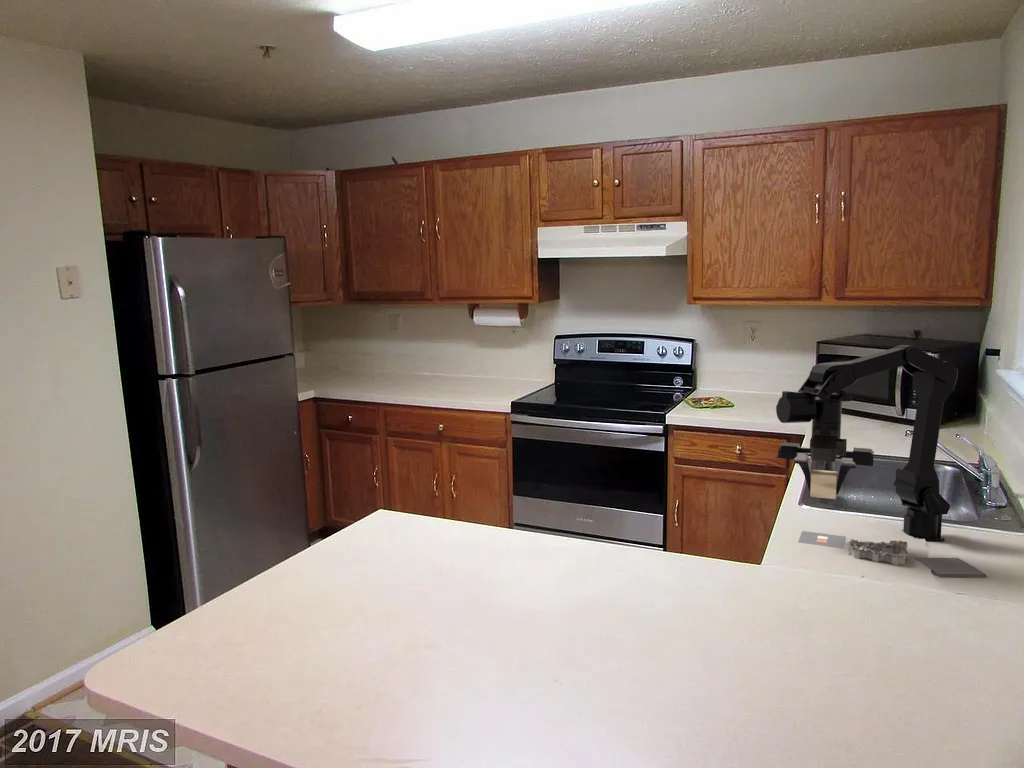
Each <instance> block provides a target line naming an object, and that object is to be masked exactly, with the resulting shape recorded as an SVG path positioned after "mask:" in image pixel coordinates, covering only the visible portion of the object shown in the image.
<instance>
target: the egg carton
mask: <svg viewBox="0 0 1024 768" xmlns="http://www.w3.org/2000/svg"><path fill="white" fill-rule="evenodd" d="M847 545H849V546H848V552H847V553H848V554H847V555H848V556H852V557H853V558H854V559H863V558H865V559H869V560H871V561H873V562H888V563H890V564H891V565H894V566H896V565H897V566H898V565H905V564H906V560H907V557H908V556H909V553H908V550H907V548H908V542H907V541H902V540H895V539H894V540H890V541H889V542H885V541H880V542H874V541H859V540H856V539H852V538H851V539H850V540H849V541H848V543H847Z"/></svg>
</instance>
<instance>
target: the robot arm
mask: <svg viewBox="0 0 1024 768" xmlns="http://www.w3.org/2000/svg"><path fill="white" fill-rule="evenodd" d="M899 367H901V368H902V369H903V370H904V371H905V372H906V373H908V374H909V375H911V376H912V388H913V390H914V392H915V396H916V397H917V404H916V410H915V418H914V424H913V430H912V437H911V443H910V450H909V456H908V457H909V459H908V462H907V463H906V464H905V466H904V467H903V468H902V469H901V468H900V467H897V468H896V471H895V480H894V482H893V484H892V485H893V487H895V493H896V495H897V496H898V497H899V500H900V503H901V505H902V506H904V507H906V513H905V514H904V515H903V529H901V531H902V532H903V533H904V534H906V535H908V536H910V537H912V538H914V539H917V540H925V541H946V538H945V537H943V536H942V524H943V521H942V520H943V515H948V513H949V511H950V508H951V504H950V503H949V502H948V501H947V500H946V499H945V498H944V497H943V496H942V495H941V494H940V479H939V476H938V473H937V471H936V468H935V462H936V457H937V455H936V454H937V448H938V442H939V437H940V436H939V435H940V429H941V422H942V415H943V410H944V403H946V400H947V399H948V398H949V397H950V395H951V394H952V393H953V392H954V390H955V386H956V383H957V380H958V376H959V374H958V373H959V372H958V368H957V367H956V366H955V365H954V364H953V363H952V362H950V361H945V360H941V359H940V358H937V357H936V356H933V355H931V354H929V353H927V352H924V351H923V350H921V349H920V348H918V347H916V346H914V345H905V344H904V345H903V344H901V345H900V344H899V345H896V346H894V347H892V348H889V349H885V350H882V351H879V352H875V353H871V354H868V355H864V356H861V357H859V358H855V359H851V360H847V361H830V362H822V363H817V364H815V365H814V366H812V367H811V370H810V371H809V375H808V377H807V378H806V379H805V381H804V383H802V385H801V386H800V387H799V389H798V390H797V391H789V390H783V391H782V392H781V397H779V399H778V401H777V404H776V406H775V408H776V409H775V412H776V413H775V414H776V416H777V419H778V421H779V422H781V423H782V424H793V423H794V424H795V423H796V424H797V423H799V424H800V423H810V422H811V437H810V439H809V447H800V446H801V445H800V443H799V442H798V443H797V442H786V441H785V442H782V443H781V444H780V445H779V446H778V450H777V458H778V459H783V460H784V459H785V460H793V463H794V464H797V465H799V467H800V469H801V471H802V473H803V475H804V479H805V482H806V485H807V488H808V491H809V492H810V490H811V473H812V467H811V466H812V463H811V460H812V461H813V462H819V461H823V462H827V463H833V462H836V461H837V460H841V463H840V467H839V473H838V478H837V487H836V494H837V495H839V494H840V490H841V488H842V485H843V482H844V481H845V478H846V477H847V475H848V473H849V472H850V470H851V469H856V468H857V466H867V467H873V466H874V456H875V455H874V454H875V452H874V450H873V449H872V448H865V447H853V450H851V451H850V450H847V445H848V444H847V441H848V440H847V438H841V436H842V435H841V433H842V431H841V430H842V429H841V428H842V407H843V406H842V405H843V402H852V401H853V398H852V397H851V396H849V394H847V393H846V391H845V389H848V388H849V387H851V386H853V385H854V384H855V383H856V382H857V381H858V380H860V379H863V378H865V377H870V376H873V375H875V374H880V373H883V372H886V371H890V370H892V369H896V368H899Z"/></svg>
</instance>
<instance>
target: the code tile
mask: <svg viewBox="0 0 1024 768" xmlns="http://www.w3.org/2000/svg"><path fill="white" fill-rule="evenodd" d="M846 537H847V536H844V535H837V534H829V533H822V532H814V531H813V532H812V531H805V530H802V531H801V533H800V536H799V538H798V541H797V543H801V544H808V545H816V546H822V547H823V546H824V547H830V548H836V549H837V548H838V549H845V543H846Z"/></svg>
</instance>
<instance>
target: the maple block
mask: <svg viewBox="0 0 1024 768" xmlns="http://www.w3.org/2000/svg"><path fill="white" fill-rule="evenodd" d="M838 477H839V473H838V471H835V470H824V469H822V470H821V469H812V470H811V490H810V491H809V492H810V493H809V494H810V495H809V497H811V498H821V499H831V500H836V499H837V495H838V494H836V487H837V482H838Z"/></svg>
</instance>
